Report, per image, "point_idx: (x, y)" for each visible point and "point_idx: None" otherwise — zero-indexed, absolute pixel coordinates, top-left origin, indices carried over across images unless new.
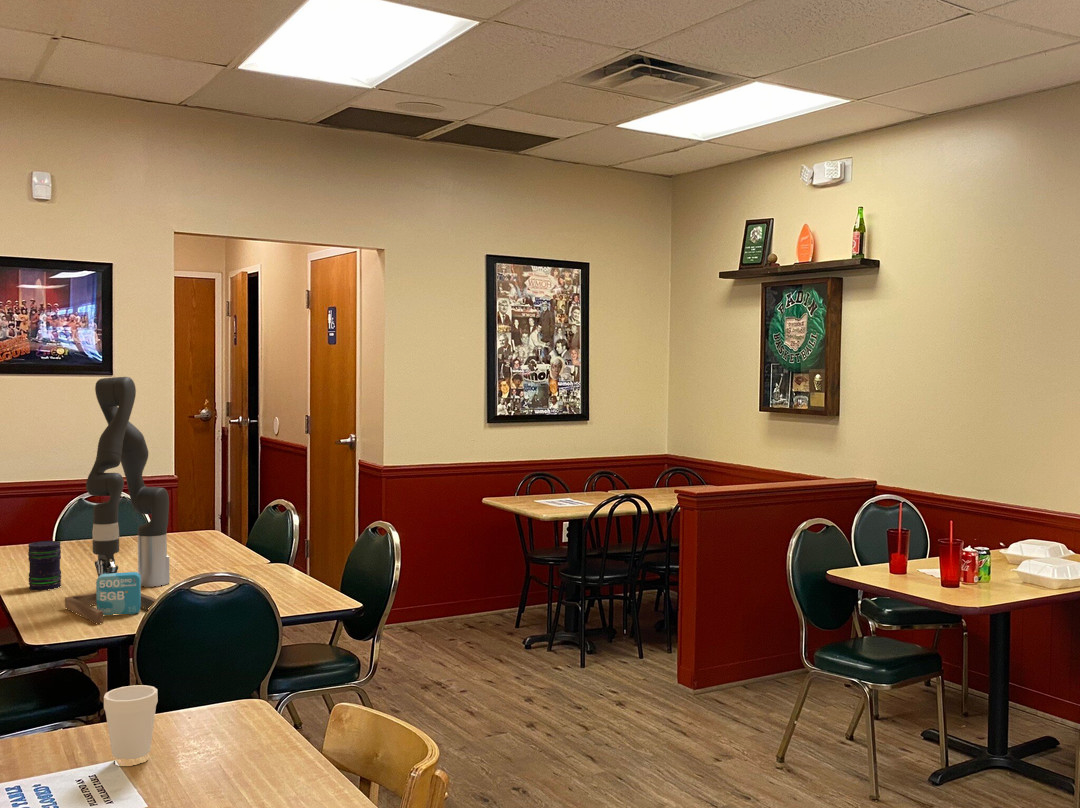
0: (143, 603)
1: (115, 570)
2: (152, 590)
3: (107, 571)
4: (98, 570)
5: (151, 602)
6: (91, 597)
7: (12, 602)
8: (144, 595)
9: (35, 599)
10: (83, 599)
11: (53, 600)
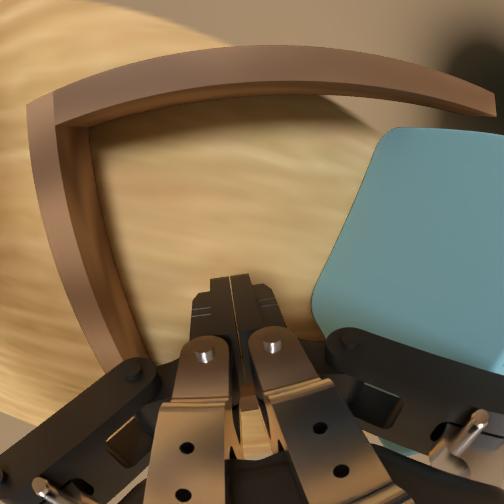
0: (364, 92)
1: (490, 391)
2: (4, 13)
3: (419, 447)
4: (134, 474)
5: (455, 105)
6: (116, 326)
7: (31, 423)
8: (350, 60)
9: (4, 387)
10: (132, 356)
11: (14, 366)
